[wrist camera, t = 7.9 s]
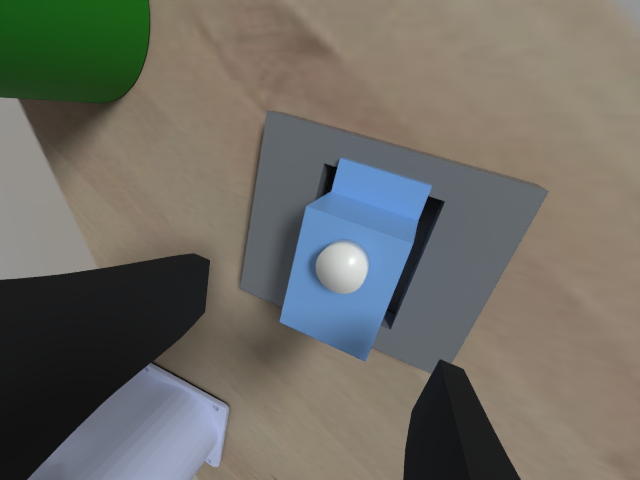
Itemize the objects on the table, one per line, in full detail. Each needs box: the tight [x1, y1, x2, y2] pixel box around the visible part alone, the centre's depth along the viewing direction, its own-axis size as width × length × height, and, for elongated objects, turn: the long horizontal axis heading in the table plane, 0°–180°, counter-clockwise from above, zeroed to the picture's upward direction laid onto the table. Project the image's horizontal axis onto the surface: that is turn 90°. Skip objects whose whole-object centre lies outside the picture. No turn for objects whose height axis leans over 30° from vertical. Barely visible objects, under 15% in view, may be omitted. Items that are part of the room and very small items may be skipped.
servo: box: [280, 157, 432, 362], centre depth 14 cm, size 4×8×6 cm, turn 166°
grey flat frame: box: [240, 111, 549, 374], centre depth 16 cm, size 12×10×2 cm
